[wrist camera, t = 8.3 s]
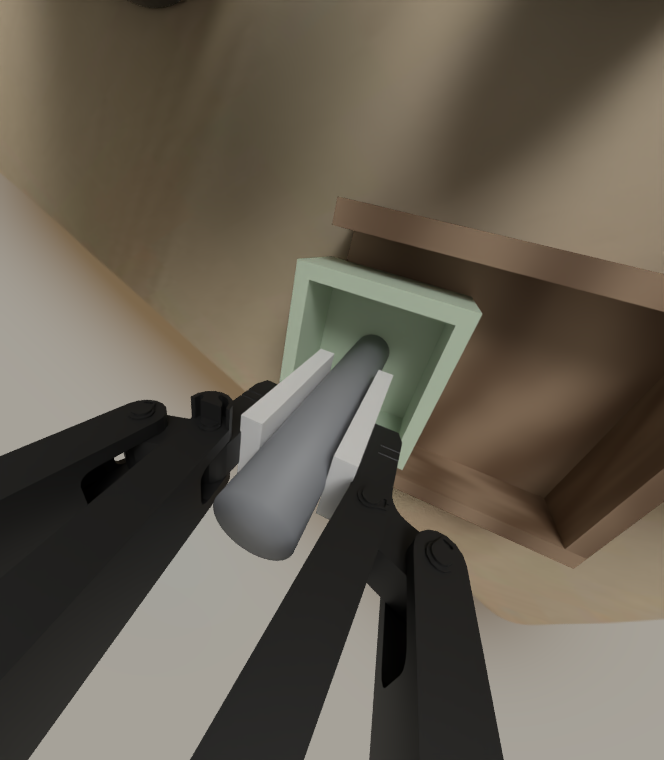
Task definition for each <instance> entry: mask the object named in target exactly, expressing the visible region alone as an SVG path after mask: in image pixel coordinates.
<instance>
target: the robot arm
mask: <svg viewBox="0 0 664 760" xmlns="http://www.w3.org/2000/svg"><path fill="white" fill-rule="evenodd" d="M128 1H130V2H132V3H134V4H137V5H140V6H144V7H149V8H158V7H165V6H169V5H172V4H174V3H177V2H179V1H181V0H128ZM333 358H334V353H331V352H329V351H326V350H323V349H320V350H319V351H318V352H316V353H315V354H314V355H313V356H312V357H310V358H309V359H308V360H307V361H306V362H304V363H303V364H302V365H301V366H300V367H298V368H297V369H296V370H295V371H294V372H292V373H291V374H290V375H289V376H288V377H286V378H285V379H284V380H283V381H282V382H280V383H279V384H275V383H273V382H270V381H268V380H267V381H263V382H260V383H257V384H255V385H254V386H253V387H251V388H250V389H249V390H248V391H246V392H244V393H243V394H242V396H239V397H238V398H236V399H235V400H232V399H231V398H230V397H229V396H228V395H226V394H224V393H222V392H217V391H205V392H201V393H197V394H195V395H193V396H191V409H192V418H191V419H187V418H181V417H175V416H169V415H167V411H166V407H165V406H164V404H163V403H160V402H158V401H152V400H141V401H136V402H132V403H129V404H126V405H124V406H121V407H119V408H116V409H114V410H112V411H109V412H107V413H105V414H102V415H99V416H97V417H95V418H92V419H90V420H87V421H85V422H83V423H80V424H78V425H75V426H73V427H70V428H68V429H65V430H63V431H61V432H58V433H56V434H53V435H51V436H48V437H46V438H43V439H41V440H38V441H36V442H34V443H31V444H29V445H26V446H24V447H21V448H19V449H17V450H14V451H12V452H9V453H7V454H4V455H2V456H0V760H28V759H29V757H30V756H31V755H32V753H33V752H34V750H35V749H36V748H37V746H38V745H39V744H40V742H41V740H42V739H43V738H44V737H45V735H46V734H47V732H48V731H49V730H50V728H51V727H52V726H53V724H54V723H55V721H56V720H57V718H58V717H59V716H60V714H61V713H62V712H63V710H64V709H65V708H66V706H67V705H68V703H69V702H70V701H71V699H72V698H73V697H74V695H75V694H76V692H77V691H78V689H79V688H80V687H81V685H82V684H83V683H84V681H85V680H86V678H87V677H88V676H89V674H90V673H91V672H92V670H93V669H94V667H95V666H96V665H97V663H98V662H99V661H100V659H101V658H102V656H103V655H104V654H105V652H106V651H107V649H108V648H109V647H110V645H111V644H112V643H113V641H114V640H115V638H116V637H117V636H118V634H119V633H120V631H121V630H122V629H123V627H124V626H125V624H126V623H127V622H128V620H129V619H130V618H131V616H132V615H133V613H134V612H135V611H136V609H137V608H138V607H139V605H140V604H141V602H142V601H143V600H144V598H145V597H146V595H147V594H148V593H149V591H150V590H151V589H152V587H153V585H154V584H155V583H156V581H157V580H158V579H159V578H160V576H161V575H162V573H163V572H164V571H165V569H166V568H167V566H168V565H169V564H170V562H171V561H172V559H173V558H174V557H175V555H176V554H177V553H178V551H179V550H180V548H181V547H182V546H183V544H184V543H185V542H186V540H187V539H188V537H189V536H190V535H191V533H192V532H193V530H194V529H195V528H196V526H197V525H198V524H199V522H200V521H201V519H202V518H203V517H204V515H205V514H206V512H207V511H208V510H209V508H210V507H211V506H212V504H213V503H214V500H215V498H216V496H217V495H218V494H219V493H220V492H221V491H222V490H223V489H224V488H225V486H226V485H227V483H228V481H229V479H230V471H231V470H232V469H233V468H234V467H235V466H236V465H237V464H238V472H239V471H240V470H241V469H242V468H243V467H244V466H245V464H246V463H247V462H248V461H249V460H250V459H251V458H252V457H253V456H254V455H255V453H256V452H257V451H258V450H259V449H260V448H261V447H262V446H263V445H264V444H265V442H266V441H267V440H268V439H269V438H270V437H271V436H272V435H273V434H274V433H275V431H276V430H277V429H278V428H279V427H280V426H281V425H282V424H283V423H284V422H285V420H286V419H287V418H288V417H289V416H290V415H291V414H292V413H293V412H294V411H295V409H296V408H297V407H298V406H299V405H300V404H301V403H302V402H303V401H304V400H305V398H306V397H307V396H308V395H309V394H310V393H311V392H312V391H313V390H314V389H315V387H316V386H317V385H318V384H319V383H320V382H321V381H322V380H323V379H324V378H325V376H326V375H327V374H328V373H329V372H330V370H331V366H332V362H333ZM392 378H393V375H392V374H389V373H386V372H383V371H381V370H378V372H377V374H376V376H375V378H374V380H373V382H372V384H371V386H370V387H369V389H368V391H367V393H366V395H365V397H364V399H363V401H362V403H361V405H360V407H359V409H358V411H357V412H356V414H355V416H354V418H353V420H352V422H351V424H350V426H349V428H348V430H347V432H346V434H345V435H344V437H343V439H342V441H341V443H340V445H339V447H338V449H337V451H336V453H335V455H334V457H333V460H332V463H331V466H330V469H329V473H328V476H327V479H326V485H325V488H324V491H323V493H322V495H321V498H320V501H319V505H318V508H317V511H316V513H317V514H319V515H321V516H323V517H325V518H327V519H329V522H328V524H327V526H326V527H325V529H324V531H323V532H322V534H321V536H320V537H319V539H318V541H317V542H316V544H315V546H314V548H313V549H312V551H311V553H310V555H309V556H308V558H307V560H306V561H305V563H304V565H303V567H302V568H301V570H300V572H299V574H298V575H297V577H296V579H295V580H294V582H293V584H292V585H291V587H290V589H289V591H288V592H287V594H286V596H285V598H284V599H283V601H282V603H281V604H280V606H279V608H278V610H277V611H276V613H275V615H274V617H273V618H272V620H271V622H270V623H269V625H268V627H267V628H266V630H265V632H264V634H263V635H262V637H261V639H260V640H259V642H258V644H257V646H256V647H255V649H254V651H253V652H252V654H251V656H250V658H249V659H248V661H247V663H246V665H245V666H244V668H243V670H242V671H241V673H240V675H239V677H238V678H237V680H236V682H235V683H234V685H233V687H232V689H231V690H230V692H229V694H228V696H227V697H226V699H225V701H224V702H223V704H222V706H221V708H220V710H219V711H218V713H217V714H216V716H215V718H214V720H213V722H212V723H211V725H210V726H209V728H208V730H207V732H206V733H205V735H204V737H203V739H202V740H201V742H200V744H199V745H198V747H197V749H196V750H195V752H194V754H193V756H192V757H191V759H190V760H304V758H305V755H306V752H307V749H308V746H309V743H310V741H311V738H312V735H313V732H314V729H315V727H316V724H317V721H318V718H319V715H320V712H321V710H322V707H323V704H324V701H325V698H326V695H327V693H328V690H329V687H330V684H331V681H332V679H333V676H334V673H335V670H336V667H337V665H338V662H339V659H340V656H341V653H342V650H343V647H344V645H345V642H346V639H347V636H348V634H349V631H350V628H351V625H352V622H353V619H354V617H355V614H356V611H357V608H358V605H359V603H360V599H361V597H362V594H363V591H364V588H365V585H366V583H367V584H368V585H369V586H370V587H371V588H372V589H373V590H374V591H375V592H376V593H377V594H378V595H379V596H380V611H379V625H378V640H377V655H376V670H375V684H374V700H373V714H372V730H371V744H370V758H369V760H504V759H503V754H502V748H501V743H500V738H499V733H498V728H497V722H496V717H495V712H494V707H493V701H492V696H491V691H490V686H489V680H488V675H487V670H486V664H485V659H484V654H483V649H482V644H481V638H480V633H479V628H478V622H477V617H476V612H475V607H474V601H473V596H472V591H471V586H470V580H469V575H468V570H467V565H466V563H465V560H464V557H463V555H462V553H461V552H460V550H459V549H458V547H457V546H456V544H454V543H453V542H452V541H451V540H450V539H449V538H448V537H447V536H445V535H443V534H441V533H439V532H438V531H433V530H425V531H421V532H419V531H418V530H416V529H415V528H414V527H413V526H412V525H410V524H409V523H408V522H407V521H406V520H405V519H404V518H403V517H402V516H401V515H400V514H399V512H398V511H397V509H396V507H395V505H394V503H393V499H392V491H393V486H394V481H395V476H396V471H397V466H398V461H399V457H400V452H401V447H402V441H401V438H400V435H399V433H398V432H395V431H393V430H390V429H388V428H385V427H383V426H380V425H378V424H375V422H376V420H377V417H378V414H379V412H380V409H381V407H382V404H383V401H384V399H385V396H386V393H387V391H388V388H389V386H390V383H391V380H392ZM123 452H124V456H125V458H124V459H122V460H119V461H115V460H114V457H116V456H118V455H120V454H121V453H123ZM238 472H237V473H238Z"/></svg>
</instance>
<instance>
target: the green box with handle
mask: <svg viewBox="0 0 664 760" xmlns="http://www.w3.org/2000/svg"><path fill="white" fill-rule="evenodd" d="M481 316H482V312H481V311H480V309H479V308H478V306H477V304H476V303H475V301H474V300H473V298H472V297H471V296H468V295H464V294H461V293H457V292H454V291H450V290H447V289H443V288H440V287H436V286H433V285H429V284H426V283H422V282H419V281H415V280H412V279H408V278H405V277H402V276H398V275H395V274H391V273H388V272H384V271H381V270H377V269H374V268H370V267H367V266H363V265H360V264H356V263H353V262H349V261H346V260H342V259H339V258H336V257H332V256H331V257H316V258H301V259H297V265H296V272H295V279H294V286H293V293H292V300H291V307H290V314H289V320H288V327H287V334H286V341H285V348H284V355H283V362H282V369H281V376H280V382H282V381H283V380H284V379H285V378H286V377H288V376H289V375H290V374H291V373H292V372H294V371H295V370H296V369H297V368H298V367H300V366H301V365H302V364H303V363H304V362H306V361H307V360H308V359H309V358H310V357H312V356H313V355H314V354H315V353H316V352H318V351H319V350H320V349H323V350H326V351H329V352H331V353H334V358H333V362H332V366H331V370H330V372H329V373H328V374H327V375H326V376H325V378H324V379H323V380H322V381H321V382H320V383H319V384H318V385H317V386H316V387H315V389H314V390H313V391H312V392H311V393H310V394H309V395H308V396H307V397H306V398H305V400H304V401H303V402H302V403H301V404H300V405H299V406H298V407H297V408H296V409H295V411H294V412H293V413H292V414H291V415H290V416H289V417H288V418H287V419H286V420H285V422H284V423H283V424H282V425H281V426H280V427H279V428H278V429H277V430H276V431H275V433H274V434H273V435H272V436H271V437H270V438H269V439H268V440H267V441H266V442H265V444H264V445H263V446H262V447H261V448H260V449H259V450H258V451H257V452H256V453H255V455H254V456H253V457H252V458H251V459H250V460H249V461H248V462H247V463H246V464H245V466H244V467H243V468H242V469H241V470H240V471H239V472H238V473H237V475H235V477H234V478H233V479H232V480H231V481H230V482H229V483H228V484H227V485H226V486H225V488H224V489H223V490H222V491H221V492H220V493H219V494H218V495H217V496H216V498H215V500H214V503H213V508H214V514H215V516H216V519H217V521H218V523H219V524H220V526H221V528H222V529H223V530H224V531H225V533H226V534H227V535H228V536H229V537H230V538H231V539H232V540H233V541H234V542H235V543H237V544H238V545H239V546H241V547H242V548H244V549H245V550H247V551H248V552H250V553H252V554H254V555H256V556H258V557H261V558H264V559H268V560H275V561H279V560H285V559H287V558H289V557H290V556H291V555H292V554H293V552H294V550H295V548H296V546H297V544H298V542H299V540H300V538H301V536H302V534H303V532H304V530H305V528H306V525H307V523H308V521H309V519H310V517H311V515H312V513H313V511H314V509H315V507H316V505H317V503H318V501H319V499H320V497H321V495H322V493H323V491H324V488H325V485H326V479H327V476H328V473H329V469H330V466H331V463H332V460H333V457H334V455H335V453H336V451H337V449H338V447H339V445H340V443H341V441H342V439H343V437H344V435H345V434H346V432H347V430H348V428H349V426H350V424H351V422H352V420H353V418H354V416H355V414H356V412H357V411H358V409H359V407H360V405H361V403H362V401H363V399H364V397H365V395H366V393H367V391H368V389H369V387H370V386H371V384H372V382H373V380H374V378H375V376H376V374H377V372H378V370H381V371H383V372H386V373H389V374H392V375H393V378H392V380H391V383H390V386H389V388H388V391H387V393H386V396H385V399H384V401H383V404H382V407H381V409H380V412H379V414H378V417H377V420H376V422H375V424H378V425H380V426H383V427H385V428H388V429H390V430H393V431H395V432H398V433H399V435H400V438H401V441H402V447H401V452H400V457H399V461H398V466H397V468H399V469H401V470H403V468H404V466H405V464H406V462H407V460H408V458H409V456H410V454H411V452H412V450H413V448H414V446H415V444H416V442H417V440H418V438H419V437H420V435H421V433H422V431H423V429H424V427H425V425H426V423H427V421H428V419H429V417H430V415H431V413H432V411H433V409H434V407H435V405H436V403H437V402H438V400H439V398H440V396H441V394H442V392H443V390H444V388H445V386H446V384H447V382H448V380H449V378H450V376H451V374H452V372H453V370H454V368H455V366H456V365H457V363H458V361H459V359H460V357H461V355H462V353H463V351H464V349H465V347H466V345H467V343H468V341H469V339H470V337H471V335H472V333H473V331H474V329H475V328H476V326H477V324H478V322H479V320H480V318H481Z"/></svg>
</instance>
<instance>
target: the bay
mask: <svg viewBox="0 0 664 760" xmlns="http://www.w3.org/2000/svg"><path fill="white" fill-rule="evenodd" d="M332 225H335V226H339V227H343V228H346V229H350V230H354V232H353V236H352V241H351V245H350V249H349V253H348V258H347V261H349V262H353V263H356V264H360V265H363V266H367V267H370V268H374V269H377V270H381V271H384V272H388V273H391V274H395V275H398V276H402V277H405V278H408V279H412V280H415V281H419V282H422V283H426V284H429V285H433V286H436V287H440V288H443V289H447V290H450V291H454V292H457V293H461V294H464V295H468V296H471V297H472V298H473V300H474V301H475V303H476V304H477V306H478V308H479V309H480V311H481V312H482V316H481V318H480V320H479V322H478V324H477V326H476V328H475V329H474V331H473V333H472V335H471V337H470V339H469V341H468V343H467V345H466V347H465V349H464V351H463V353H462V355H461V357H460V359H459V361H458V363H457V365H456V366H455V368H454V370H453V372H452V374H451V376H450V378H449V380H448V382H447V384H446V386H445V388H444V390H443V392H442V394H441V396H440V398H439V400H438V402H437V403H436V405H435V407H434V409H433V411H432V413H431V415H430V417H429V419H428V421H427V423H426V425H425V427H424V429H423V431H422V433H421V435H420V437H419V438H418V440H417V442H416V444H415V446H414V448H413V450H412V452H411V454H410V456H409V458H408V460H407V462H406V464H405V466H404V468H403V470H401V469H399V468H397V471H396V476H395V481H394V486H393V488H396V489H398V490H400V491H402V492H404V493H407V494H409V495H411V496H413V497H416V498H418V499H420V500H422V501H424V502H427V503H429V504H431V505H433V506H435V507H438V508H440V509H442V510H444V511H447V512H449V513H451V514H453V515H455V516H458V517H460V518H462V519H464V520H467V521H469V522H471V523H473V524H475V525H478V526H480V527H482V528H484V529H486V530H489V531H491V532H493V533H495V534H498V535H500V536H502V537H504V538H506V539H509V540H511V541H513V542H515V543H517V544H520V545H522V546H524V547H526V548H529V549H531V550H533V551H535V552H537V553H540V554H542V555H544V556H546V557H548V558H551V559H553V560H555V561H557V562H560V563H562V564H564V565H566V566H568V567H571V568H573V569H574V568H575V567H577V566H578V565H579V564H581V563H582V562H583V561H585V560H586V559H587V558H589V557H590V556H591V555H593V554H594V553H595V552H597V551H598V550H599V549H601V548H602V547H603V546H605V545H606V544H607V543H609V542H610V541H611V540H613V539H614V538H615V537H617V536H618V535H619V534H621V533H622V532H623V531H625V530H626V529H627V528H629V527H630V526H631V525H633V524H634V523H636V522H637V521H638V520H640V519H641V518H642V517H644V516H645V515H646V514H648V513H649V512H650V511H652V510H653V509H654V508H656V507H657V506H658V505H660V504H661V503H662V502H664V274H661V273H657V272H652V271H648V270H644V269H640V268H636V267H632V266H627V265H623V264H619V263H615V262H611V261H606V260H602V259H598V258H594V257H590V256H585V255H581V254H577V253H573V252H569V251H564V250H560V249H556V248H552V247H548V246H543V245H539V244H535V243H531V242H527V241H522V240H518V239H514V238H510V237H506V236H501V235H497V234H493V233H489V232H485V231H480V230H476V229H472V228H468V227H464V226H460V225H455V224H451V223H447V222H443V221H439V220H434V219H430V218H426V217H422V216H418V215H413V214H409V213H405V212H401V211H397V210H392V209H388V208H384V207H380V206H376V205H371V204H367V203H363V202H359V201H355V200H350V199H346V198H342V197H337V202H336V207H335V212H334V217H333V223H332Z"/></svg>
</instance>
